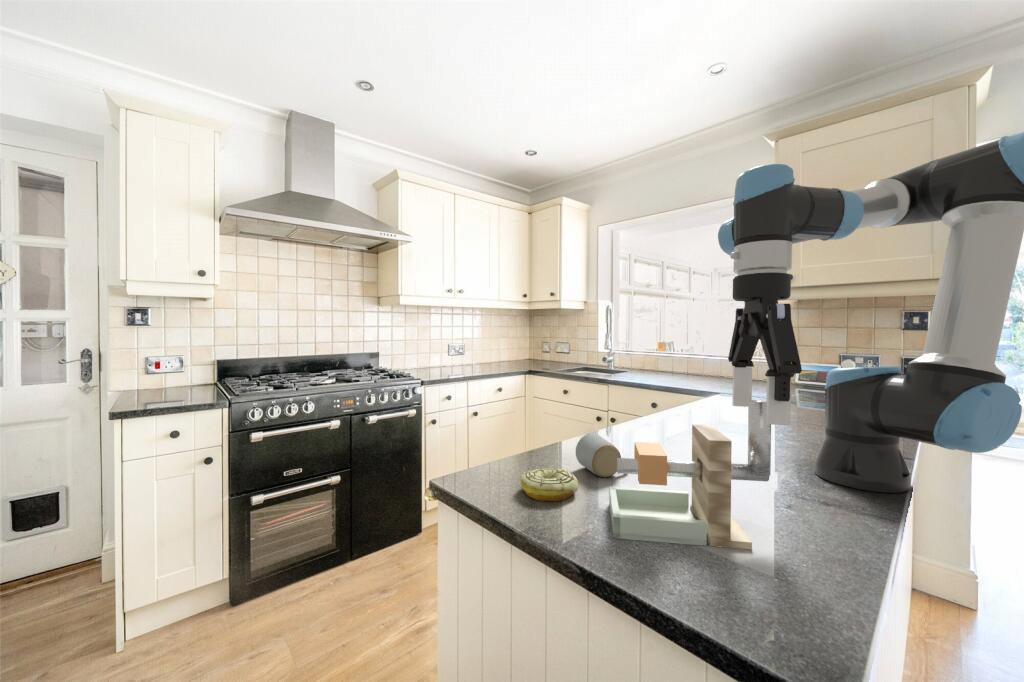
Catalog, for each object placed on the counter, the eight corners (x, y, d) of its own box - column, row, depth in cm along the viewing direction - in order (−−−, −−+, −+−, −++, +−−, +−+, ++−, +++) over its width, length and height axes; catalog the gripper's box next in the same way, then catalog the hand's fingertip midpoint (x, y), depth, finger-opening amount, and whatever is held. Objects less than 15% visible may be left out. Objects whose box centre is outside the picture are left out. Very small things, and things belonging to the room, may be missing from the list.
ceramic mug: (592, 481, 85) (593, 443, 85) (574, 468, 93) (575, 434, 93) (637, 476, 89) (638, 440, 88) (615, 464, 96) (616, 431, 96)
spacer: (659, 469, 70) (659, 443, 70) (666, 485, 63) (667, 456, 63) (634, 468, 71) (634, 442, 70) (639, 483, 64) (639, 454, 63)
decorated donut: (588, 498, 77) (588, 478, 77) (536, 508, 73) (536, 487, 73) (560, 479, 87) (560, 461, 87) (513, 487, 82) (512, 468, 82)
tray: (687, 509, 72) (687, 491, 71) (706, 545, 60) (706, 523, 60) (609, 504, 74) (609, 486, 74) (613, 538, 62) (613, 516, 62)
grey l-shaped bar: (765, 477, 65) (766, 399, 65) (773, 484, 62) (774, 403, 62) (616, 469, 69) (617, 396, 69) (618, 476, 66) (618, 399, 66)
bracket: (724, 512, 70) (725, 424, 70) (751, 549, 59) (753, 443, 58) (690, 509, 71) (690, 423, 71) (710, 546, 60) (711, 442, 59)
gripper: (710, 283, 76) (708, 399, 76) (769, 261, 51) (765, 433, 52) (755, 282, 74) (753, 401, 75) (837, 259, 50) (832, 436, 50)
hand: (757, 414), depth 63 cm, fingers open, 13 cm apart
